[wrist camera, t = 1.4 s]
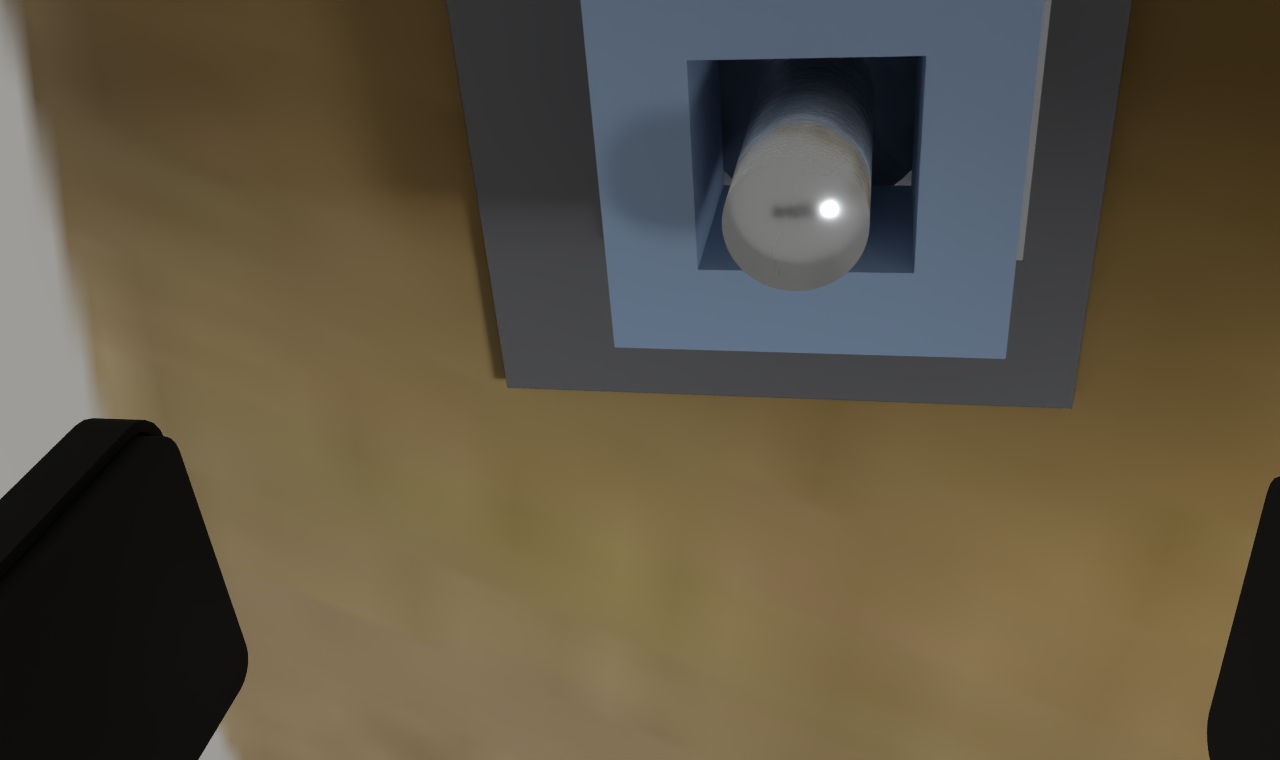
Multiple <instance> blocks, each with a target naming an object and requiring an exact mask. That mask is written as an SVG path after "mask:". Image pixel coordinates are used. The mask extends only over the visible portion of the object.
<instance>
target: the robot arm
mask: <svg viewBox="0 0 1280 760" xmlns="http://www.w3.org/2000/svg"><path fill="white" fill-rule="evenodd" d="M247 667H248V651H247V647H246V643H245V640H244V638H243V635H242V632H241V629H240V626H239V623H238V620H237V617H236V614H235V611H234V608H233V605H232V602H231V600H230V597H229V594H228V591H227V588H226V585H225V582H224V579H223V576H222V573H221V570H220V567H219V565H218V562H217V559H216V556H215V553H214V550H213V547H212V544H211V541H210V538H209V535H208V532H207V530H206V527H205V524H204V521H203V518H202V515H201V512H200V509H199V506H198V503H197V500H196V497H195V494H194V492H193V489H192V486H191V483H190V480H189V477H188V474H187V471H186V468H185V465H184V462H183V459H182V457H181V454H180V451H179V449H178V447H177V445H176V443H175V442H174V441H173V440H172V439H171V438H168V437H165V436H163V434H162V432H161V430H160V429H159V428H158V427H157V426H156V425H155V424H154V423H152V422H149V421H146V420H127V419H97V418H92V419H87V420H83V421H82V422H80V423H79V424H77V425H76V426H75V427H74V428H73V429H72V430H71V431H70V432H69V433H67V434H66V435H65V437H64V438H62V440H60V441H59V442H58V443H57V444H56V445H55V446H54V447H53V448H52V449H51V450H50V451H49V452H48V453H47V454H46V455H45V456H44V457H43V458H42V459H41V460H40V461H39V462H38V463H37V464H36V465H35V466H34V467H33V468H32V469H31V470H30V471H29V472H28V473H27V474H26V475H25V476H24V477H23V478H22V479H21V480H20V481H19V482H18V483H17V484H16V485H15V486H14V487H13V488H12V489H10V491H8V492H7V493H6V494H5V495H4V496H3V497H2V498H1V499H0V760H198V759H199V757H200V756H201V754H202V752H203V751H204V749H205V748H206V746H207V744H208V742H209V741H210V739H211V738H212V736H213V734H214V733H215V731H216V729H217V728H218V726H219V724H220V723H221V721H222V719H223V718H224V716H225V714H226V713H227V711H228V709H229V708H230V706H231V704H232V703H233V701H234V699H235V698H236V696H237V694H238V693H239V691H240V689H241V687H242V685H243V683H244V680H245V677H246V673H247ZM1207 743H1208V751H1209V757H1210V760H1280V477H1277V478H1274V480H1273V481H1272V482H1271V484H1270V486H1269V489H1268V492H1267V495H1266V499H1265V503H1264V506H1263V510H1262V514H1261V518H1260V522H1259V525H1258V529H1257V533H1256V537H1255V541H1254V545H1253V548H1252V552H1251V556H1250V560H1249V564H1248V567H1247V571H1246V575H1245V579H1244V583H1243V586H1242V590H1241V594H1240V598H1239V602H1238V605H1237V609H1236V613H1235V617H1234V621H1233V624H1232V628H1231V632H1230V636H1229V640H1228V643H1227V647H1226V651H1225V655H1224V659H1223V662H1222V666H1221V670H1220V674H1219V678H1218V681H1217V685H1216V689H1215V693H1214V697H1213V700H1212V704H1211V708H1210V712H1209V717H1208V724H1207Z"/></svg>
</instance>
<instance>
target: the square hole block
mask: <svg viewBox="0 0 1280 760" xmlns="http://www.w3.org/2000/svg"><path fill="white" fill-rule="evenodd" d="M580 1H581V11H582V21H583V31H584V42H585V52H586V62H587V72H588V82H589V92H590V103H591V113H592V123H593V133H594V143H595V153H596V163H597V174H598V184H599V194H600V204H601V214H602V224H603V235H604V245H605V255H606V265H607V275H608V285H609V295H610V306H611V316H612V326H613V336H614V346H615V347H618V348H652V349H686V350H720V351H753V352H787V353H821V354H855V355H889V356H923V357H956V358H990V359H1006V351H1007V342H1008V332H1009V323H1010V314H1011V305H1012V295H1013V286H1014V277H1015V268H1016V258H1017V249H1018V240H1019V231H1020V221H1021V212H1022V203H1023V194H1024V184H1025V175H1026V166H1027V157H1028V147H1029V138H1030V129H1031V120H1032V110H1033V101H1034V92H1035V83H1036V73H1037V64H1038V55H1039V46H1040V36H1041V27H1042V18H1043V9H1044V0H580ZM894 56H918V66H917V85H916V103H915V122H914V141H913V160H912V179H911V185H871V201H870V227H869V236H868V240H867V244H866V246H865V249H864V251H863V253H862V255H861V257H860V258H859V260H858V261H857V263H856V264H855V265H854V266H853V267H852V268H851V269H850V270H849V271H848V272H847V273H846V274H845V275H844V276H842V277H841V278H840V279H838V280H836V281H834V282H833V283H831V284H828V285H826V286H823V287H820V288H817V289H813V290H807V291H786V290H781V289H776V288H773V287H770V286H767V285H765V284H762V283H760V282H758V281H757V280H755V279H753V278H752V277H750V276H749V275H748V274H747V273H745V272H744V271H743V270H742V269H741V268H740V267H739V266H738V265H737V263H736V262H735V261H734V259H733V258H732V256H731V255H730V253H729V251H728V249H727V246H726V244H725V241H724V237H723V232H722V214H723V209H724V205H725V202H726V198H727V195H728V192H729V188H730V185H724V176H723V150H722V123H721V97H720V70H719V60H736V59H789V58H842V57H894Z"/></svg>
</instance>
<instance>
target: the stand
mask: <svg viewBox="0 0 1280 760" xmlns="http://www.w3.org/2000/svg"><path fill="white" fill-rule="evenodd" d="M1051 1H1052V0H1044V9H1043V18H1042V27H1041V36H1040V46H1039V55H1038V64H1037V73H1036V83H1035V92H1034V101H1033V110H1032V120H1031V129H1030V138H1029V147H1028V157H1027V166H1026V175H1025V184H1024V194H1023V203H1022V212H1021V221H1020V231H1019V240H1018V249H1017V258H1016V260H1023V252H1024V243H1025V234H1026V225H1027V216H1028V207H1029V198H1030V189H1031V180H1032V171H1033V162H1034V153H1035V145H1036V136H1037V127H1038V118H1039V109H1040V100H1041V91H1042V82H1043V73H1044V64H1045V55H1046V46H1047V37H1048V28H1049V19H1050V10H1051ZM917 66H918V56H894V57H842V58H789V59H736V60H719V70H720V97H721V123H722V150H723V176H724V185H730V188H729V192H728V195H727V198H726V202H725V205H724V209H723V214H722V232H723V237H724V241H725V244H726V246H727V249H728V251H729V253H730V255H731V256H732V258H733V259H734V261H735V262H736V263H737V265H738V266H739V267H740V268H741V269H742V270H743V271H744V272H745V273H747V274H748V275H749V276H750V277H752V278H753V279H755V280H757V281H758V282H760V283H762V284H765V285H767V286H770V287H773V288H776V289H781V290H786V291H807V290H813V289H817V288H820V287H823V286H826V285H828V284H831V283H833V282H834V281H836V280H838V279H840V278H841V277H842V276H844V275H845V274H846V273H847V272H848V271H849V270H850V269H851V268H852V267H853V266H854V265H855V264H856V263H857V261H858V260H859V258H860V257H861V255H862V253H863V251H864V249H865V246H866V244H867V240H868V236H869V227H870V201H871V185H911V179H912V160H913V141H914V122H915V103H916V85H917Z"/></svg>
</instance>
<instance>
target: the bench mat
mask: <svg viewBox="0 0 1280 760" xmlns="http://www.w3.org/2000/svg"><path fill="white" fill-rule="evenodd" d="M446 3H447V9H448V16H449V22H450V28H451V34H452V41H453V47H454V53H455V60H456V66H457V72H458V79H459V85H460V91H461V98H462V104H463V110H464V117H465V123H466V129H467V136H468V142H469V148H470V155H471V161H472V167H473V173H474V180H475V186H476V192H477V199H478V205H479V211H480V218H481V224H482V230H483V237H484V243H485V249H486V256H487V262H488V268H489V275H490V281H491V287H492V294H493V300H494V306H495V312H496V319H497V325H498V331H499V338H500V344H501V350H502V357H503V363H504V369H505V376H506V382H507V388H530V389H557V390H584V391H611V392H638V393H665V394H692V395H719V396H746V397H773V398H800V399H827V400H854V401H881V402H908V403H935V404H962V405H989V406H1016V407H1043V408H1070V409H1072V405H1073V398H1074V392H1075V385H1076V378H1077V371H1078V364H1079V358H1080V351H1081V344H1082V337H1083V330H1084V324H1085V317H1086V310H1087V303H1088V297H1089V290H1090V283H1091V276H1092V269H1093V263H1094V256H1095V249H1096V242H1097V235H1098V229H1099V222H1100V215H1101V208H1102V201H1103V195H1104V188H1105V181H1106V174H1107V167H1108V161H1109V154H1110V147H1111V140H1112V133H1113V127H1114V120H1115V113H1116V106H1117V99H1118V93H1119V86H1120V79H1121V72H1122V66H1123V59H1124V52H1125V45H1126V38H1127V32H1128V25H1129V18H1130V11H1131V4H1132V0H1052V1H1051V10H1050V19H1049V28H1048V37H1047V46H1046V55H1045V64H1044V73H1043V82H1042V91H1041V100H1040V109H1039V118H1038V127H1037V136H1036V145H1035V153H1034V162H1033V171H1032V180H1031V189H1030V198H1029V207H1028V216H1027V225H1026V234H1025V243H1024V252H1023V260H1016V268H1015V277H1014V286H1013V295H1012V305H1011V314H1010V323H1009V332H1008V342H1007V351H1006V359H990V358H956V357H923V356H889V355H855V354H821V353H787V352H753V351H720V350H686V349H652V348H618V347H615V346H614V336H613V326H612V316H611V306H610V295H609V285H608V275H607V265H606V255H605V245H604V235H603V224H602V214H601V204H600V194H599V184H598V174H597V163H596V153H595V143H594V133H593V123H592V113H591V103H590V92H589V82H588V72H587V62H586V52H585V42H584V31H583V21H582V11H581V1H580V0H446Z"/></svg>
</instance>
